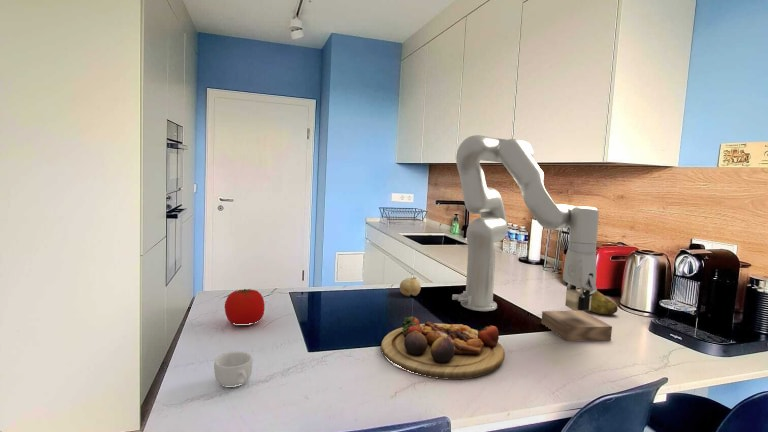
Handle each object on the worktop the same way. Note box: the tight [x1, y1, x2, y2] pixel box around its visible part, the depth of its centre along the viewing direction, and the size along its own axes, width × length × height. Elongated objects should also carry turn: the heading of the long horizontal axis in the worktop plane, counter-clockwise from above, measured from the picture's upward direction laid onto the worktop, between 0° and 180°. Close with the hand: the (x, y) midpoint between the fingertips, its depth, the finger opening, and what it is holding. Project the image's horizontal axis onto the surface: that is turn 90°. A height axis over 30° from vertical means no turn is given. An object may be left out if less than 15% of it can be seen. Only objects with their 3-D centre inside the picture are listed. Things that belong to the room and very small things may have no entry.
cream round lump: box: [399, 276, 422, 297], centre depth 160 cm, size 8×8×7 cm
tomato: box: [224, 288, 265, 324], centre depth 124 cm, size 11×12×10 cm
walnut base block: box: [541, 310, 613, 342], centre depth 128 cm, size 14×14×4 cm
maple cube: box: [565, 288, 592, 312], centre depth 127 cm, size 5×5×5 cm
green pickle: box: [584, 289, 619, 315], centre depth 148 cm, size 8×13×8 cm, turn 33°
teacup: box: [213, 351, 253, 386], centre depth 90 cm, size 10×8×5 cm
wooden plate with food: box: [380, 315, 506, 380], centre depth 111 cm, size 32×32×8 cm
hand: (577, 306), depth 127 cm, fingers closed on maple cube, 5 cm apart
